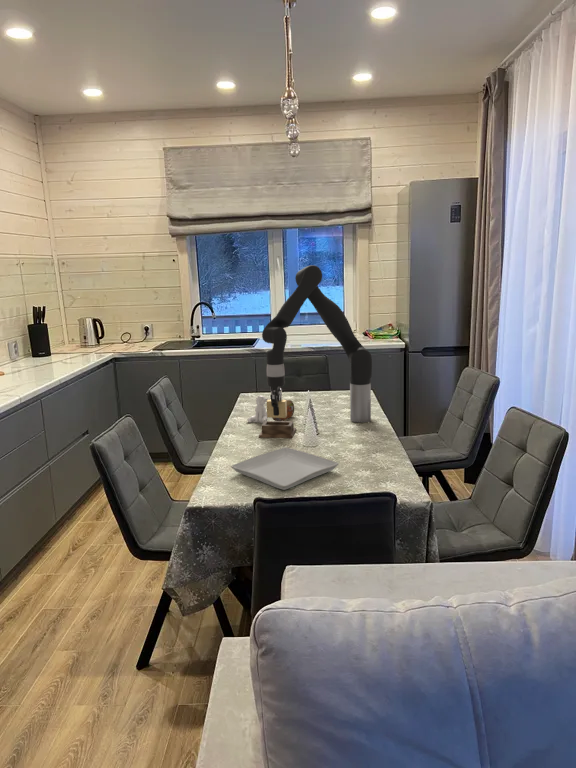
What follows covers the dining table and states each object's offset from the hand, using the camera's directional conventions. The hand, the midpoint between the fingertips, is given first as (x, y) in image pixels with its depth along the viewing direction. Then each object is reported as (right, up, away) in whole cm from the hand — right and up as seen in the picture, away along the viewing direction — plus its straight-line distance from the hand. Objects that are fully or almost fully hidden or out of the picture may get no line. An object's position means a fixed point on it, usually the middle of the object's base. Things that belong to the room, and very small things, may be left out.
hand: (277, 414), depth 238 cm
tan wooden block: (0, -1, 0) cm, 1 cm away
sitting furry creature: (-8, -5, +22) cm, 24 cm away
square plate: (+4, -19, -43) cm, 47 cm away
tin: (+2, -4, +24) cm, 25 cm away
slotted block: (0, -8, +2) cm, 9 cm away
